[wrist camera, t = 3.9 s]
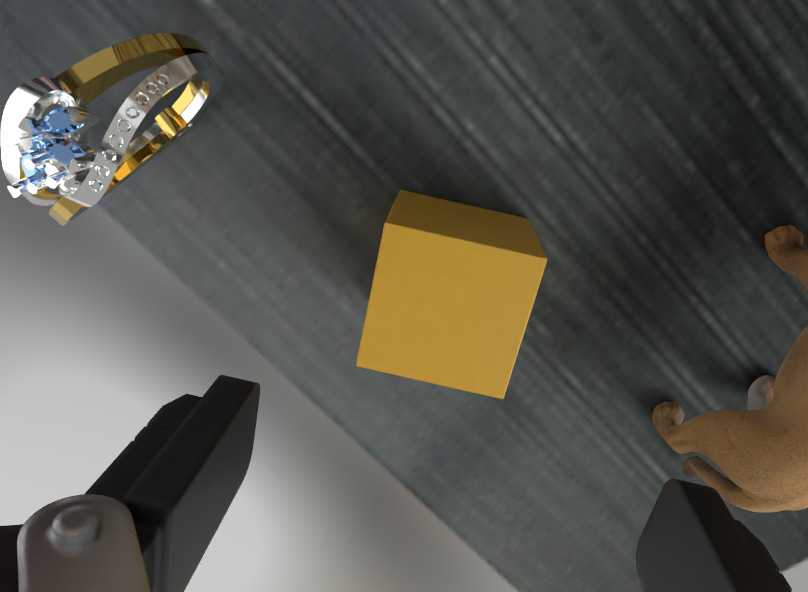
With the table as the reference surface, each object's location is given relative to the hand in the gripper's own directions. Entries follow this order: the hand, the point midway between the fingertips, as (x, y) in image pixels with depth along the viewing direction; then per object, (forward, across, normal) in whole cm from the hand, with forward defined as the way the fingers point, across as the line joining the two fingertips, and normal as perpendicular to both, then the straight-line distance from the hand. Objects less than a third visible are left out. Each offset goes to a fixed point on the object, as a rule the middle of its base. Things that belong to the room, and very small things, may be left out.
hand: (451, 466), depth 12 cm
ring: (+13, +11, -3) cm, 17 cm away
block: (+13, 0, 0) cm, 13 cm away
